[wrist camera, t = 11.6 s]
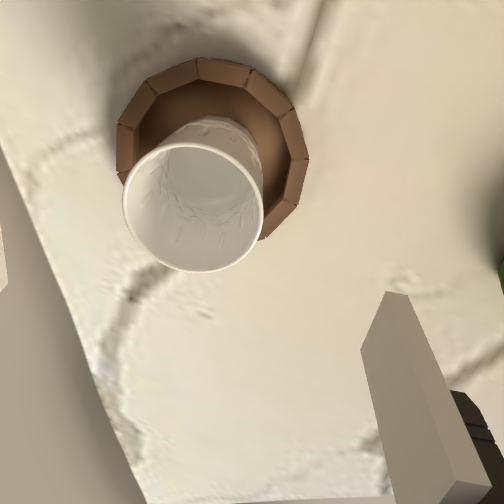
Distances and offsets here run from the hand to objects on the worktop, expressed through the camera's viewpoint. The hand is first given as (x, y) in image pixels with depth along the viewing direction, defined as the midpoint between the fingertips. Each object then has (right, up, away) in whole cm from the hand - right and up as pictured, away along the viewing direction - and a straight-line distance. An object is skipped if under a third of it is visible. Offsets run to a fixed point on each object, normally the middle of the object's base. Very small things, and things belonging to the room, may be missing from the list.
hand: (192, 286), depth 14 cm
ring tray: (-1, +9, +18) cm, 20 cm away
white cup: (-1, +8, +18) cm, 19 cm away
